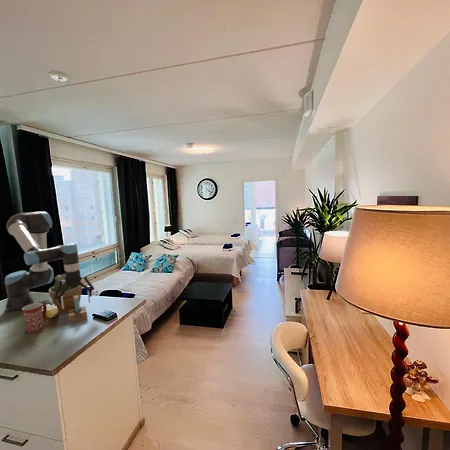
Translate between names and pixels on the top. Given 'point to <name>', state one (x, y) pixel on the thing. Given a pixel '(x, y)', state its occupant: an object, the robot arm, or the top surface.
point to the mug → (34, 316)
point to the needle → (76, 304)
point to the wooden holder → (77, 315)
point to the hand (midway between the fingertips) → (76, 304)
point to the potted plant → (65, 295)
